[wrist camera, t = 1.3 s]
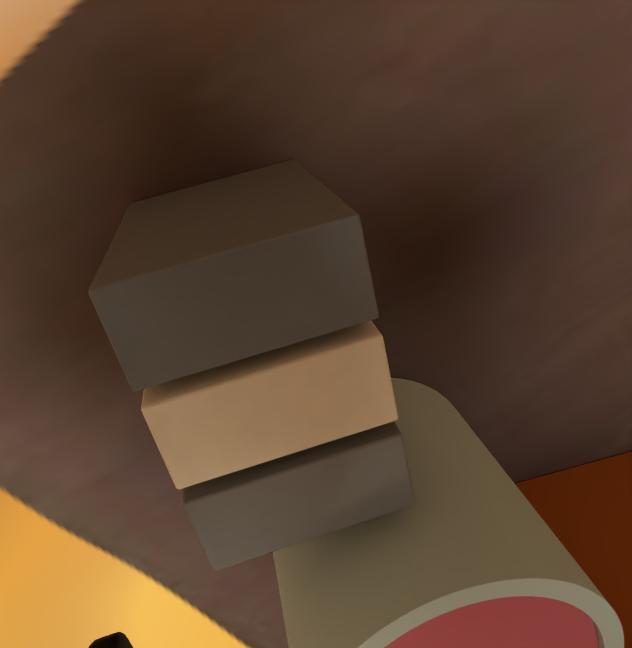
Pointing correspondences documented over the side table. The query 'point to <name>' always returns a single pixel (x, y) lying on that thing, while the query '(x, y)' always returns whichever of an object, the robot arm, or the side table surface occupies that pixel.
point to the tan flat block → (271, 404)
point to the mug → (443, 559)
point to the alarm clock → (593, 524)
